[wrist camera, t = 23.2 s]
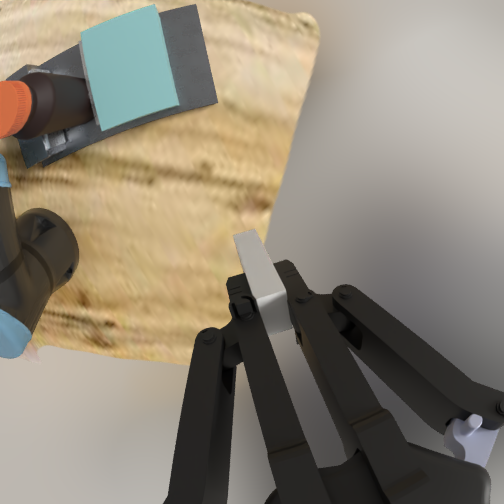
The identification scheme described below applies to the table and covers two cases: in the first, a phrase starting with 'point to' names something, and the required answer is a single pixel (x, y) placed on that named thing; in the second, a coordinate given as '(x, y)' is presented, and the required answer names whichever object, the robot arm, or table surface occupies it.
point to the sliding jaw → (127, 68)
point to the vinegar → (43, 105)
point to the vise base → (189, 96)
